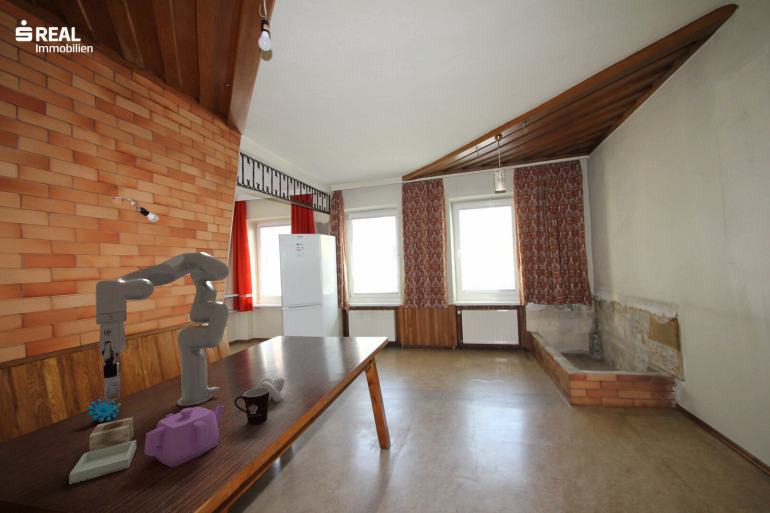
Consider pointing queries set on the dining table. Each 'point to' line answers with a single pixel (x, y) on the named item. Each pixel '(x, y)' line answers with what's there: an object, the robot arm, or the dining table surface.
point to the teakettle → (184, 435)
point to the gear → (103, 410)
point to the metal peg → (113, 384)
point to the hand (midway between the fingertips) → (112, 374)
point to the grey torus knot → (272, 387)
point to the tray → (103, 461)
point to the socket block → (111, 434)
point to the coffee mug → (255, 405)
